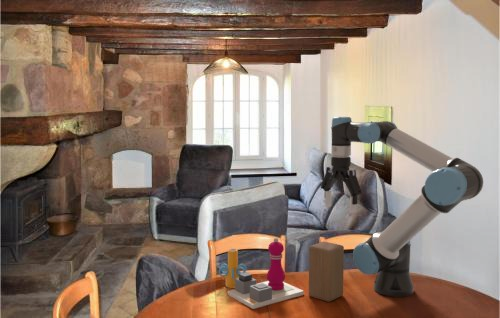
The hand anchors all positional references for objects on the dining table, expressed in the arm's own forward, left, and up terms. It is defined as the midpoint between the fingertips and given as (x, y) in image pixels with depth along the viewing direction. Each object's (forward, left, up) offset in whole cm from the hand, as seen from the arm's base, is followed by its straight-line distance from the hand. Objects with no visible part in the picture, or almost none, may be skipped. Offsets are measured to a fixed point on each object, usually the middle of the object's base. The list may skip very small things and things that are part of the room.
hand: (340, 209), depth 203 cm
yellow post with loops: (+26, +34, -32) cm, 53 cm away
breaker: (+16, +35, -28) cm, 48 cm away
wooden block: (-4, +11, -32) cm, 34 cm away
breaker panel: (+11, +29, -32) cm, 44 cm away
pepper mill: (+11, +24, -30) cm, 40 cm away
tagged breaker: (+6, +35, -30) cm, 46 cm away
